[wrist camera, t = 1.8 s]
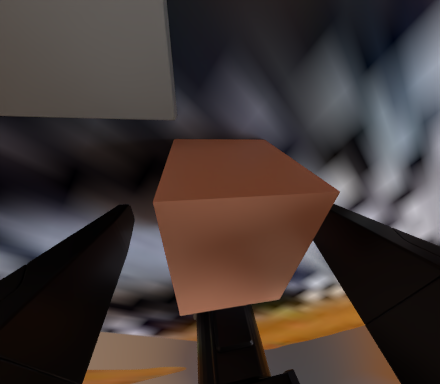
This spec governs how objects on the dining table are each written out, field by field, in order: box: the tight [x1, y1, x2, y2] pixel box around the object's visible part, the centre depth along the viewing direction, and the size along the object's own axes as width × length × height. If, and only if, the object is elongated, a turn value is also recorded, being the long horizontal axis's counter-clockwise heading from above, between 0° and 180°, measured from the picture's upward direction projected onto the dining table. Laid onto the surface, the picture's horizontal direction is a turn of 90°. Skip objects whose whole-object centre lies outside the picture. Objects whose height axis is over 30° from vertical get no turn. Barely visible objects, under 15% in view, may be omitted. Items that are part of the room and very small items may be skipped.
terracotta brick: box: [153, 139, 340, 316], centre depth 7 cm, size 6×4×5 cm
